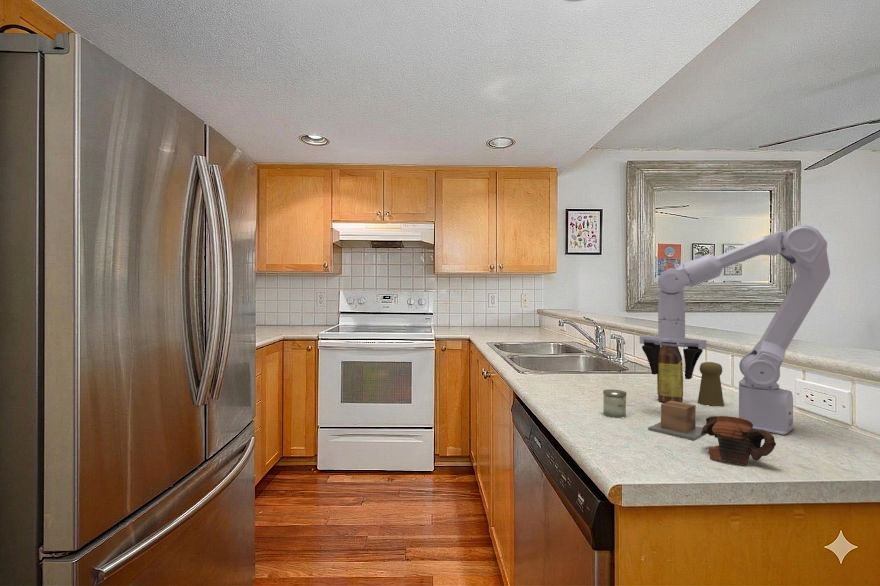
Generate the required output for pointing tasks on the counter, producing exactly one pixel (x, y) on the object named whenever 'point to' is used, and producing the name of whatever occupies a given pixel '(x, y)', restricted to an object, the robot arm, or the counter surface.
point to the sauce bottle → (670, 374)
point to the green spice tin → (614, 403)
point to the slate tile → (690, 435)
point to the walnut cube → (678, 416)
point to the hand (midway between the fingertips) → (671, 376)
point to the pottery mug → (737, 440)
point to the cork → (710, 384)
